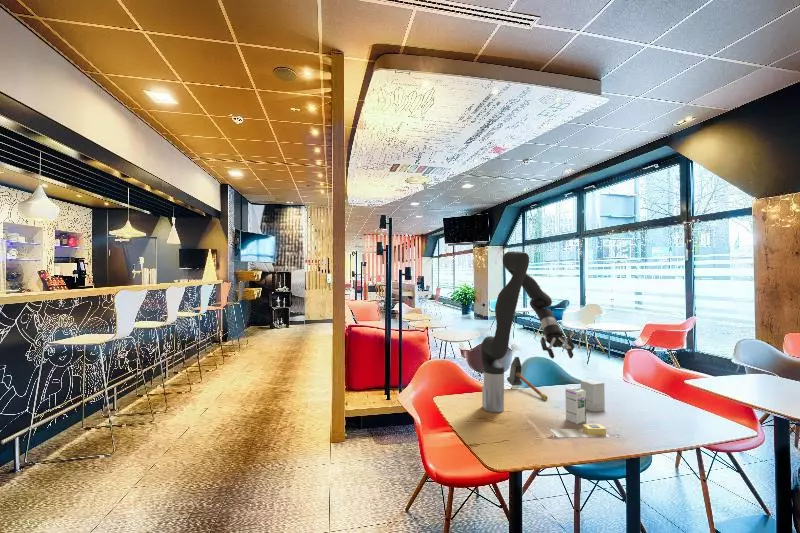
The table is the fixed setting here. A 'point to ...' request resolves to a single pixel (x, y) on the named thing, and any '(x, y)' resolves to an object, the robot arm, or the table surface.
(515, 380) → the hammer
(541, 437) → the table surface
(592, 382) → the supplement box
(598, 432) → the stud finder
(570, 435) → the board
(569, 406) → the syrup box
